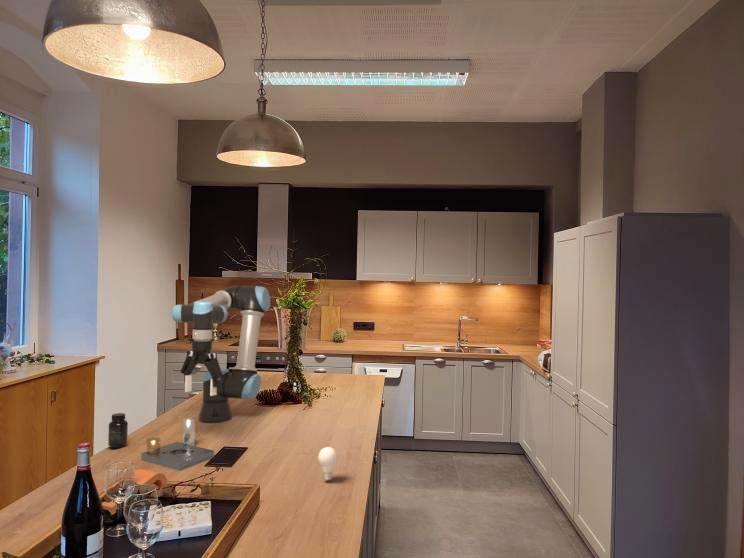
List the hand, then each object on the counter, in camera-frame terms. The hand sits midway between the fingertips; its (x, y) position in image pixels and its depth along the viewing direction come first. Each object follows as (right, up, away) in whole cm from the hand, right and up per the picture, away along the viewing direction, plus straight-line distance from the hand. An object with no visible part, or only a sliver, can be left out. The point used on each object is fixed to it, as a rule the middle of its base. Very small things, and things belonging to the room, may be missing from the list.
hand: (200, 393), depth 211 cm
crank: (-3, -21, -56) cm, 60 cm away
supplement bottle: (-32, -20, -2) cm, 38 cm away
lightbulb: (+53, -22, -34) cm, 67 cm away
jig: (-3, -21, -16) cm, 26 cm away
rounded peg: (-4, -21, -2) cm, 21 cm away
